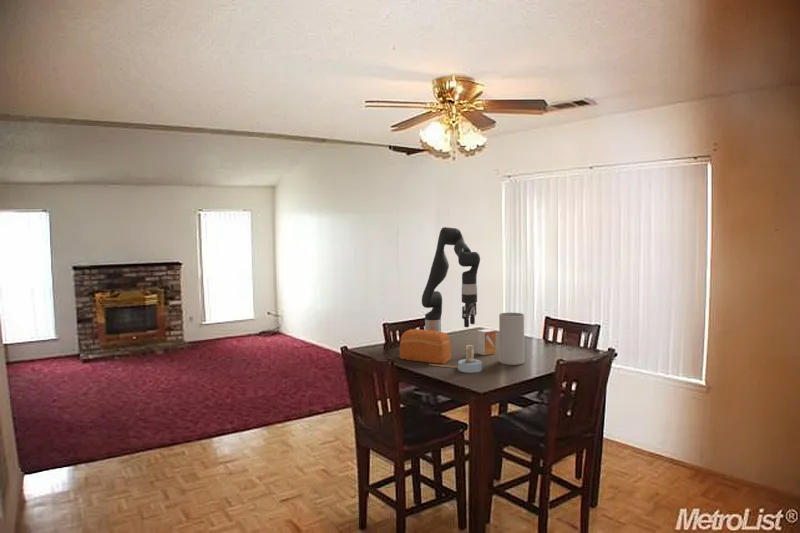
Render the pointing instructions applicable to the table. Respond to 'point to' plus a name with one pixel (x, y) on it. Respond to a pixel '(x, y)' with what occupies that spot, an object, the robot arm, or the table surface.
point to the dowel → (469, 354)
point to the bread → (425, 346)
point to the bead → (469, 366)
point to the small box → (486, 341)
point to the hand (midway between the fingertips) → (469, 325)
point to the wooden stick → (443, 366)
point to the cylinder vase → (511, 338)
